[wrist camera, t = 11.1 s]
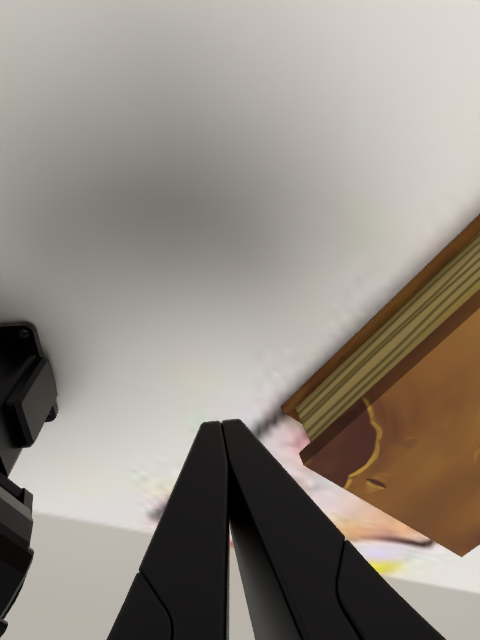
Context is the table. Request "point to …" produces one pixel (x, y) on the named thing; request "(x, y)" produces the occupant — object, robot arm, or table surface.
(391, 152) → the table surface
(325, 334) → the table surface
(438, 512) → the diary
